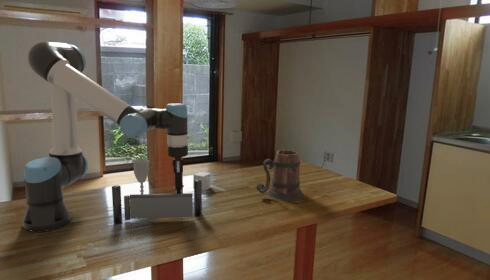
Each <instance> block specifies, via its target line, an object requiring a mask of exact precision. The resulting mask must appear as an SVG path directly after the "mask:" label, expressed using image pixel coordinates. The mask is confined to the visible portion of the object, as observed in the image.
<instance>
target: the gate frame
mask: <svg viewBox="0 0 490 280" xmlns="http://www.w3.org/2000/svg"><path fill="white" fill-rule="evenodd" d="M121 191H122V187H121V185H112V186H111V195H112V196H111V198H112V199H111V200H112V213H113V214H112V215H113V219H112V221H113V224H114V225H121V224H122V223H123V211H122V192H121ZM202 200H203V191H202V180H194V189H193V215H194V216H195V217H200V216H202V215H203V213H202V212H203V207H202V206H203V205H202V204H203V203H202V202H203V201H202Z"/></svg>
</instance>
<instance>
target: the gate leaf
mask: <svg viewBox="0 0 490 280" xmlns="http://www.w3.org/2000/svg"><path fill="white" fill-rule="evenodd" d="M123 203H124V204H123V205H124V208H123V209H124V221H129V220H132V219H164V218H165V219H166V218H167V219H168V218H193V215H194V196H193V193H192V192H191V193H190V192H189V193H185V192H184V193H182V194H175V193H151V194H150V193H149V194H147V193H145V194H144V193H143V194H141V193H140V194H128V195H127V194H126V195H124V196H123Z"/></svg>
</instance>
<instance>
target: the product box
mask: <svg viewBox="0 0 490 280" xmlns="http://www.w3.org/2000/svg"><path fill="white" fill-rule="evenodd" d="M211 176H212V175H211V173H209V172H206V171H204V172H203V171H199V172H196V173H194V174H193V178H192V179H193V182H192V183H193V190H194V180H202V192H205V191H207V190H208V189H211Z"/></svg>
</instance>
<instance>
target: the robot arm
mask: <svg viewBox="0 0 490 280" xmlns="http://www.w3.org/2000/svg"><path fill="white" fill-rule="evenodd" d="M27 62H28V64H29V66H30V68H31V69H32V71H33V72H34V73H35V74H36V75H37V76H39V77H40V78H42V79H43V80H45V81H46V82H47V83H49V84H50V96H51V98H50V99H51V100H50V101H51V122H52V123H51V124H52V125H51V126H52V145H53V146H52V148H50V150H48V156H45V157H40V158H36V159H33V160H31V161H29V162H27V163H26V164H25V165H24V167H23V182H24V189H25V190H24V192H25V197H26V199H25V200H26V208H25V213H24V215H23V220H22V225H23V229H24V228H25V229H27V230H32V231H44V232H47V231H46V230H50V231H53V230H52V229H54V230H56V228H58V229H60V228H62V226H63V227H65V226H66V225H68V224H69V223H70V222H71V214H70V211H69V208H68V206H67V205H66V202H65V201H64V189H65V188H66V187H68V186H70V185H72V184H74V183H76V182H78V181H79V180H81V179H82V178H83V177H85V175H86V174H87V171H88V167H89V163H88V159H87V158H86V157H85V155H84V154H83V149H82V148H80V146H79V144H78V143H79V142H78V102H77V101H78V99H79V100H80V101H82V102H83V103H85V104H86V105H88V106H89V107H91V108H92V109H94V110H96V111H97V112H98V113H100V114H101V115H103V116H105V117H106V118H108V119H109V120H110V121H112V122H114V123H115V124H116V125H118V126H119V128H120V131H121V132H122V134H124V136H127V137H130V138H134V137H139V136H142V135H144V133H147V132H149V131H152V130H166V140H167V141H166V144H167V145H168V146H167V156H168V157H170V158H173V159H172V167H173V173H174V187H173V191H174V194H183V188H184V187H185V185H184V184H183V180H182V179H183V178H182V177H183V176H182V173H183V172H184V159H183V158H184V157H186V156H188V155H189V146H188V143H189V140H188V139H190V136H189V135H188V121H189V120H188V118H189V116H188V108H187V105H186V104H185V103H180V102H179V103H178V102H177V103H175V102H174V103H167V104H166V106H165V108H153V107H151V108H147V107H141V108H140V107H138V108H134V107H133V106H132V105H130V104H128V102H127V103H126V102H125V101H124V100H122V99H121V98H119V97H118V96H116V95H115V94H113V93H112V92H110V91H109V90H107V88H104V87H103V86H101V85H100V84H99V83H97V82H95V81H94V80H92V79H91V78H89V77H88V76H86V75H85V74H84V73H83V72H84V71H85V68H86V65H87V64H86V63H87V60H86V57H85V54H84V52H83V51H82V50H81V49H80V48H79V47H77V46H76V45H73V44H70V43H66V42H55V41H54V42H52V41H41V42H37V43H35V44H33V45H32V47H30V49H29V51H28V53H27ZM67 223H68V224H67ZM64 225H65V226H64ZM59 227H60V228H59ZM25 229H24V230H25ZM27 230H26V231H27Z"/></svg>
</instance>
